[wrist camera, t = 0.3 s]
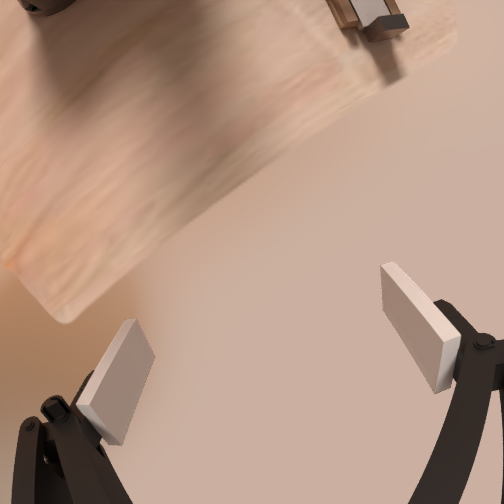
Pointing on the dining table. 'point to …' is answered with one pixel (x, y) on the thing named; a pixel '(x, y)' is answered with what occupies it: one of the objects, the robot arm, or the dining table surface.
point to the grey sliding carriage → (378, 20)
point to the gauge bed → (347, 16)
